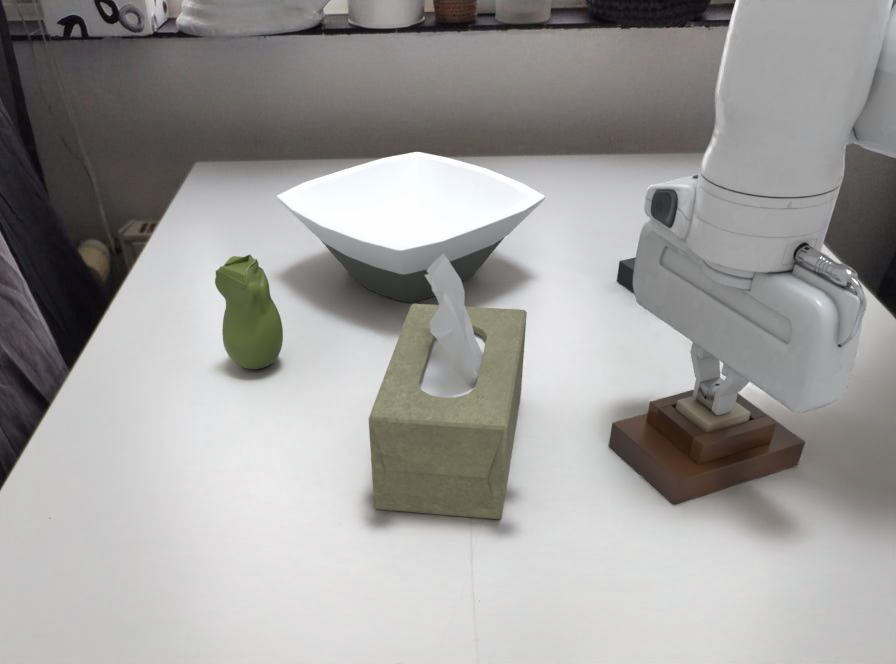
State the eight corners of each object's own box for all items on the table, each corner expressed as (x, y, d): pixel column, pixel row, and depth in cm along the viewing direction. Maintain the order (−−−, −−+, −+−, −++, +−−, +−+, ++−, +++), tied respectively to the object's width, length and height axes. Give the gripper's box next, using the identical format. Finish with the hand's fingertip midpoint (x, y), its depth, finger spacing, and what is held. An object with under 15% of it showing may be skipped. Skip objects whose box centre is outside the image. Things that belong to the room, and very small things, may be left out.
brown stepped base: (726, 411, 77) (737, 369, 74) (797, 465, 71) (812, 421, 68) (608, 445, 74) (615, 402, 71) (673, 504, 68) (683, 460, 65)
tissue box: (413, 387, 81) (409, 204, 70) (521, 394, 80) (534, 209, 68) (373, 512, 68) (359, 312, 57) (500, 523, 67) (513, 321, 55)
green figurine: (297, 360, 85) (284, 254, 78) (261, 385, 82) (244, 276, 74) (252, 346, 87) (236, 241, 80) (215, 369, 84) (195, 262, 77)
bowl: (267, 276, 98) (256, 195, 92) (422, 221, 109) (421, 145, 103) (398, 345, 86) (395, 258, 80) (557, 276, 97) (565, 194, 91)
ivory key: (712, 411, 72) (718, 388, 71) (744, 435, 70) (751, 412, 68) (672, 422, 71) (676, 399, 70) (702, 447, 69) (708, 424, 67)
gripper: (914, 270, 53) (839, 464, 63) (703, 168, 67) (668, 341, 77) (832, 290, 52) (768, 486, 62) (632, 181, 65) (606, 357, 75)
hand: (712, 405), depth 69 cm, fingers closed, pressing on ivory key
